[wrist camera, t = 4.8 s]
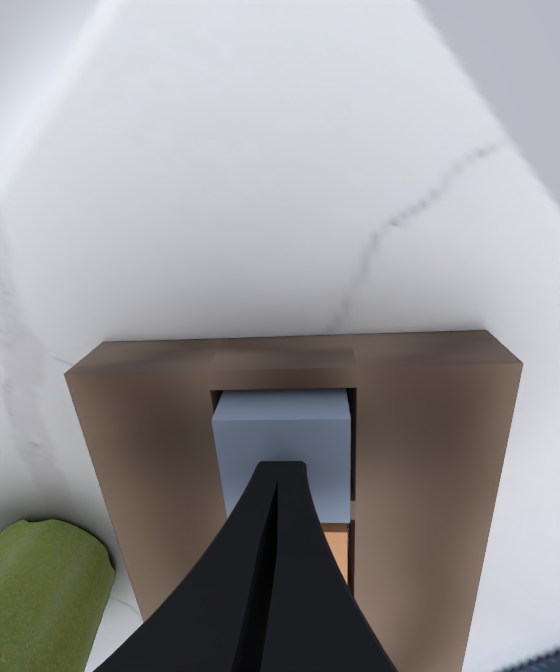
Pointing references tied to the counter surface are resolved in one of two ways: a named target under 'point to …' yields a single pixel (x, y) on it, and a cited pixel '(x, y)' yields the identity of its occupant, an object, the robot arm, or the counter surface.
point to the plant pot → (50, 596)
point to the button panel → (365, 463)
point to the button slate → (287, 442)
